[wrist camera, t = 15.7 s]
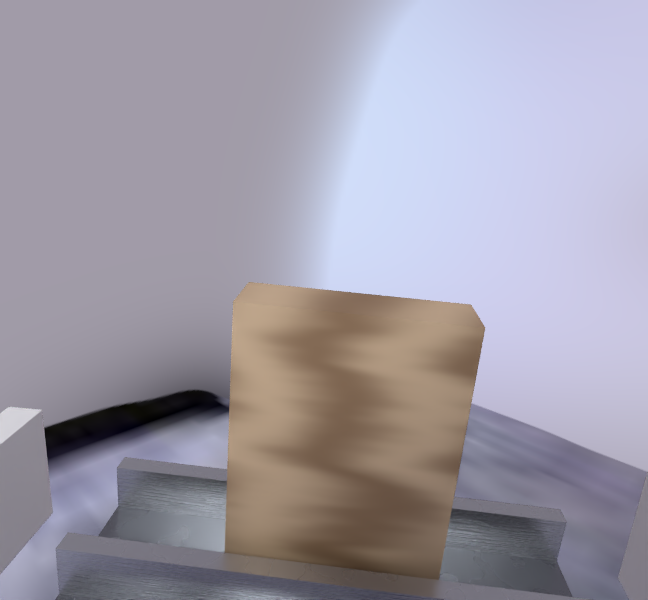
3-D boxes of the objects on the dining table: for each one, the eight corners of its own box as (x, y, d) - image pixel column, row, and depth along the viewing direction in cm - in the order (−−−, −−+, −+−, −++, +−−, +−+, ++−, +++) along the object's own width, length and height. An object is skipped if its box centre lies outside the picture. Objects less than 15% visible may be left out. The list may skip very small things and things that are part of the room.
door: (426, 553, 28) (469, 301, 24) (433, 607, 25) (485, 327, 21) (239, 530, 29) (250, 279, 25) (223, 580, 26) (233, 301, 22)
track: (536, 549, 32) (551, 491, 30) (609, 728, 22) (634, 654, 21) (137, 499, 33) (135, 442, 32) (42, 649, 23) (35, 575, 22)
